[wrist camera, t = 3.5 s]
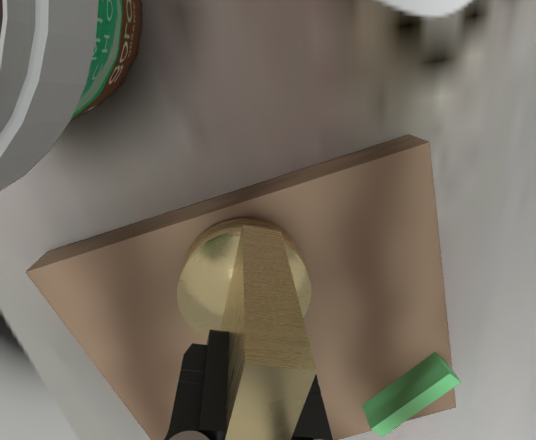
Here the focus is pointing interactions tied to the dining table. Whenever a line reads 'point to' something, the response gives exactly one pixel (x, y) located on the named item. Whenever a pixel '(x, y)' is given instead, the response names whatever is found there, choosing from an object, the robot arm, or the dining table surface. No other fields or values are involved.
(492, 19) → the dining table surface
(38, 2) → the food container
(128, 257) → the dial board
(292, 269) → the tan bar with dome
